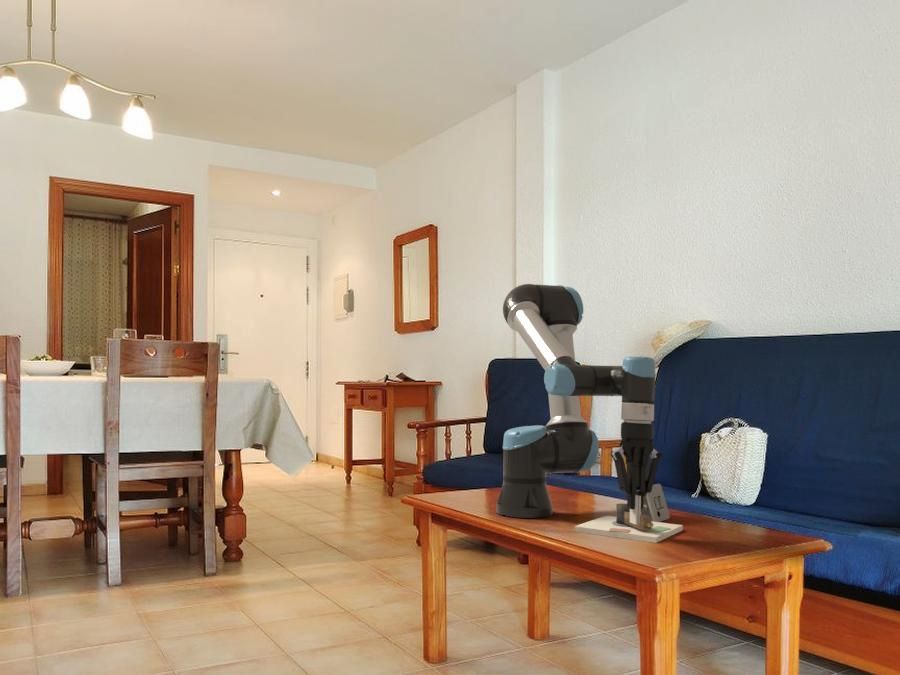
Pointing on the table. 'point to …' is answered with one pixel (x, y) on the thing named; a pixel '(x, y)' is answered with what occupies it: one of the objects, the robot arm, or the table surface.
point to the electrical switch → (655, 504)
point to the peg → (624, 518)
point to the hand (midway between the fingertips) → (634, 523)
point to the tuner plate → (628, 529)
